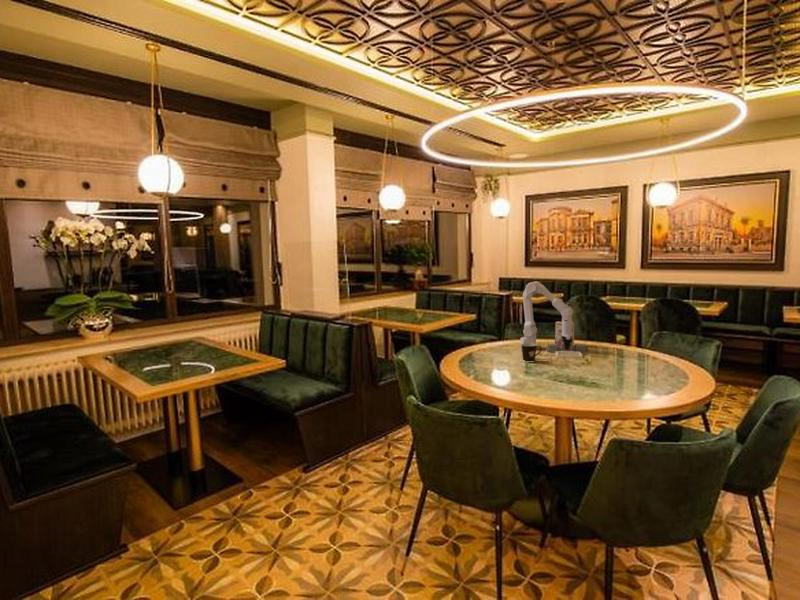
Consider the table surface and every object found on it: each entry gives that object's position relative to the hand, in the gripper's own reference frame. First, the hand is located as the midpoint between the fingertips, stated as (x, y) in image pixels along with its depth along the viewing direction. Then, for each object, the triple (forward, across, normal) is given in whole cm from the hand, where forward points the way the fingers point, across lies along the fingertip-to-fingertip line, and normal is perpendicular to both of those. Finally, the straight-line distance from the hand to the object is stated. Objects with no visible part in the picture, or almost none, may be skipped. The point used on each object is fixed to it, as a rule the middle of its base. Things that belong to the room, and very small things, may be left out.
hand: (566, 348), depth 286 cm
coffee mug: (+3, -22, +22) cm, 31 cm away
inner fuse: (+2, 0, +8) cm, 8 cm away
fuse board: (+3, 0, 0) cm, 3 cm away
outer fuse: (+2, 0, -8) cm, 8 cm away
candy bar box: (+3, +18, -1) cm, 19 cm away
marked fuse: (+1, 0, 0) cm, 1 cm away
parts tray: (+3, -10, 0) cm, 10 cm away
